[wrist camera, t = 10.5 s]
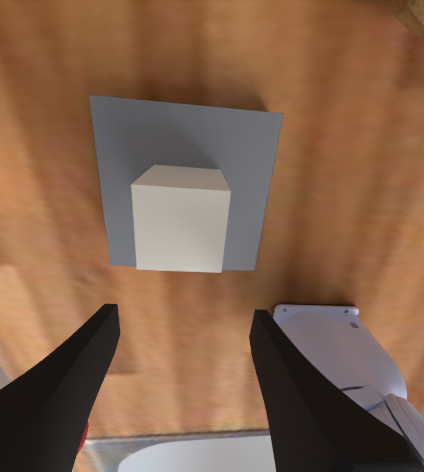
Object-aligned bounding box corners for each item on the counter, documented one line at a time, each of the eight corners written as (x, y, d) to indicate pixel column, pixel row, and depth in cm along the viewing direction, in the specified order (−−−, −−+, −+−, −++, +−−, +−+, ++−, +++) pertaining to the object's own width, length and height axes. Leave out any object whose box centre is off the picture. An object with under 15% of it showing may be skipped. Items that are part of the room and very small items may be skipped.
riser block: (270, 115, 18) (283, 113, 15) (247, 253, 23) (254, 270, 20) (106, 99, 17) (88, 94, 14) (121, 247, 22) (110, 265, 19)
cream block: (220, 169, 16) (231, 191, 11) (214, 228, 18) (221, 272, 13) (154, 164, 16) (131, 184, 10) (155, 225, 18) (136, 269, 12)
